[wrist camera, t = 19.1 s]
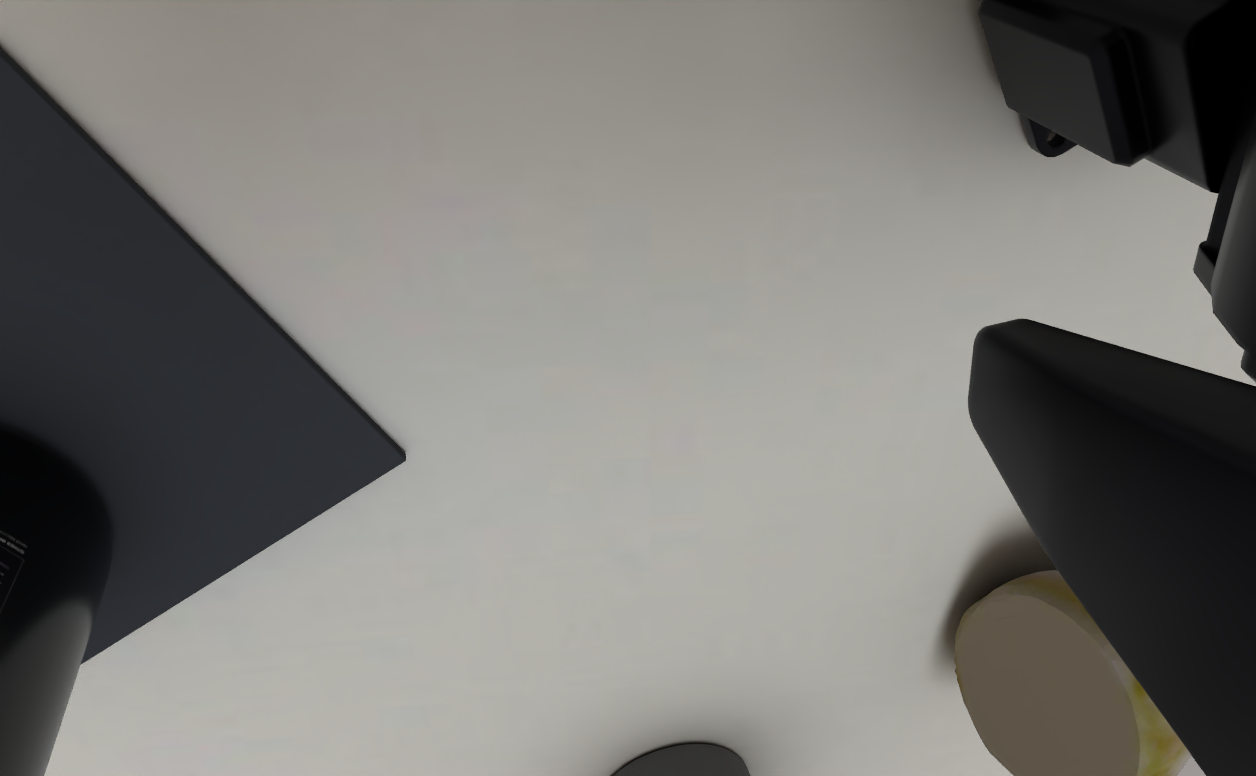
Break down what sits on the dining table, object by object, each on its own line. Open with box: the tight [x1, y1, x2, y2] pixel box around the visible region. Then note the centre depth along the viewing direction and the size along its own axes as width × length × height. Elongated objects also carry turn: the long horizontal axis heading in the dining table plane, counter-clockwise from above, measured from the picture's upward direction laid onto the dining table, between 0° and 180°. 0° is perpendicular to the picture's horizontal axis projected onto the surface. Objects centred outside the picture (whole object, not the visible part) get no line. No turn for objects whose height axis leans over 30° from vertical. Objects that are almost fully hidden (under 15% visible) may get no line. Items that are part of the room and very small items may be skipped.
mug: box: [955, 570, 1192, 776], centre depth 30 cm, size 8×10×10 cm
